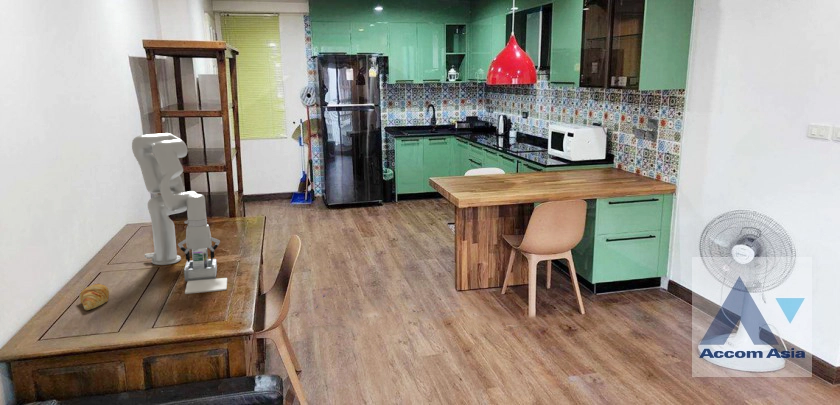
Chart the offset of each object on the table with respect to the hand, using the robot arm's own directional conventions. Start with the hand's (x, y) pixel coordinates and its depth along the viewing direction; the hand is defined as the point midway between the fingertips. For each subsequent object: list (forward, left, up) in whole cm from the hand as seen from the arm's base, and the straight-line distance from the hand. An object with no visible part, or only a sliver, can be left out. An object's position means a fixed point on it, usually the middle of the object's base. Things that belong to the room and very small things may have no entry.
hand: (200, 260), depth 246 cm
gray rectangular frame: (0, +3, -7) cm, 8 cm away
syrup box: (0, 0, -7) cm, 7 cm away
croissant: (-38, -20, -7) cm, 43 cm away
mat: (+3, -14, -7) cm, 16 cm away
